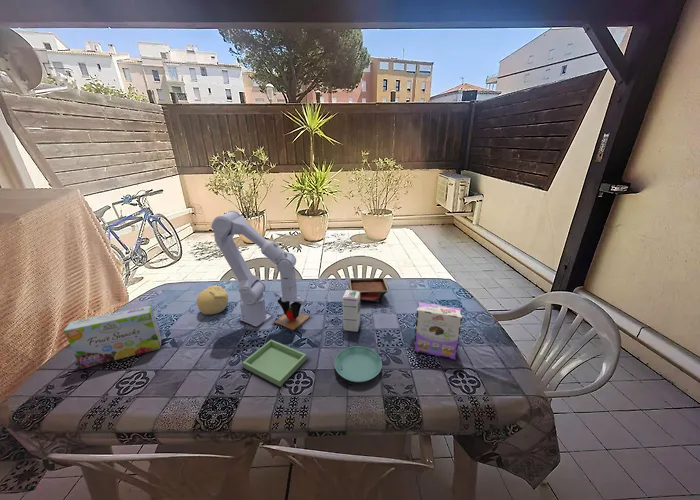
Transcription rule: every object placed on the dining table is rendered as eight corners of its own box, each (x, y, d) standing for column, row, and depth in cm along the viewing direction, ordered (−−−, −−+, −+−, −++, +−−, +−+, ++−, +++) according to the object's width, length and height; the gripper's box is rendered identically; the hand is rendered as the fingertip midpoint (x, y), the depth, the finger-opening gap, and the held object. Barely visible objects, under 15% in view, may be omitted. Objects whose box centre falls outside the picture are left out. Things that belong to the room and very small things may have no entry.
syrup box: (358, 332, 102) (358, 298, 97) (342, 330, 103) (342, 296, 98) (360, 323, 107) (360, 290, 102) (345, 321, 108) (345, 289, 103)
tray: (243, 368, 85) (242, 362, 84) (271, 345, 95) (270, 339, 94) (280, 388, 78) (279, 381, 77) (306, 360, 88) (306, 354, 87)
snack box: (79, 371, 84) (61, 330, 79) (86, 359, 89) (69, 320, 84) (160, 349, 93) (149, 311, 88) (162, 339, 98) (152, 303, 93)
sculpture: (232, 311, 115) (228, 289, 111) (201, 321, 108) (195, 297, 105) (227, 300, 124) (223, 279, 120) (197, 308, 117) (192, 286, 114)
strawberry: (284, 319, 108) (283, 309, 106) (291, 314, 111) (290, 304, 110) (292, 323, 106) (291, 312, 104) (299, 317, 109) (299, 306, 108)
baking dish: (386, 310, 119) (390, 289, 116) (346, 304, 118) (349, 283, 116) (382, 295, 133) (386, 277, 130) (346, 290, 132) (349, 271, 129)
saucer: (336, 351, 92) (336, 345, 91) (379, 352, 91) (380, 346, 90) (332, 387, 78) (332, 380, 77) (383, 388, 78) (384, 381, 77)
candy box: (455, 349, 93) (462, 307, 87) (455, 360, 88) (463, 317, 82) (414, 340, 97) (418, 300, 91) (412, 351, 92) (416, 309, 86)
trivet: (273, 323, 107) (273, 321, 107) (290, 311, 115) (290, 309, 115) (293, 331, 102) (293, 329, 102) (309, 317, 111) (309, 316, 110)
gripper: (267, 285, 103) (270, 315, 108) (297, 294, 97) (299, 326, 101) (280, 278, 109) (283, 307, 114) (309, 286, 102) (311, 316, 107)
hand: (291, 315), depth 108 cm, fingers closed on strawberry, 4 cm apart
